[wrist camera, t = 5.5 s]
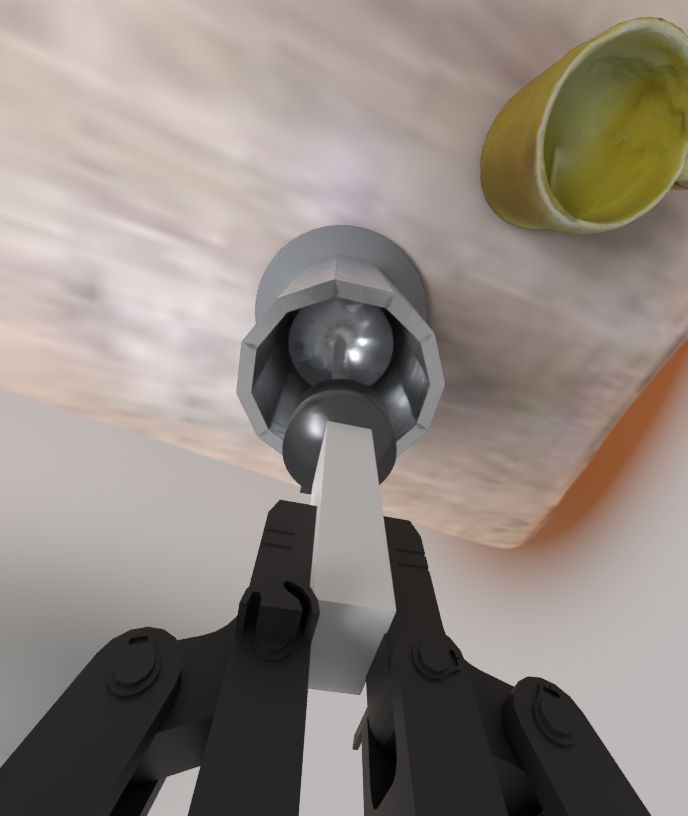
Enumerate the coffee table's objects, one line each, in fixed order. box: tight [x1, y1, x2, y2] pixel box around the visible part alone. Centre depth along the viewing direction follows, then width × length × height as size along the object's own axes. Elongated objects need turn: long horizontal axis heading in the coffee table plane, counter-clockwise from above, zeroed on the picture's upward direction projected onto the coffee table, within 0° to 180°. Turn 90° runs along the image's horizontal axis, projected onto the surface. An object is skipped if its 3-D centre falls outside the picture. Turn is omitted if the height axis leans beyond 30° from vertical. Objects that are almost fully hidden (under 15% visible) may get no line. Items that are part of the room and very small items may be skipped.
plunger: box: [282, 297, 397, 492], centre depth 19 cm, size 7×7×13 cm
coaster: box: [255, 225, 427, 323], centre depth 31 cm, size 14×14×1 cm
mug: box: [481, 17, 688, 234], centre depth 23 cm, size 12×10×10 cm
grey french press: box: [236, 255, 445, 494], centre depth 25 cm, size 13×10×14 cm
